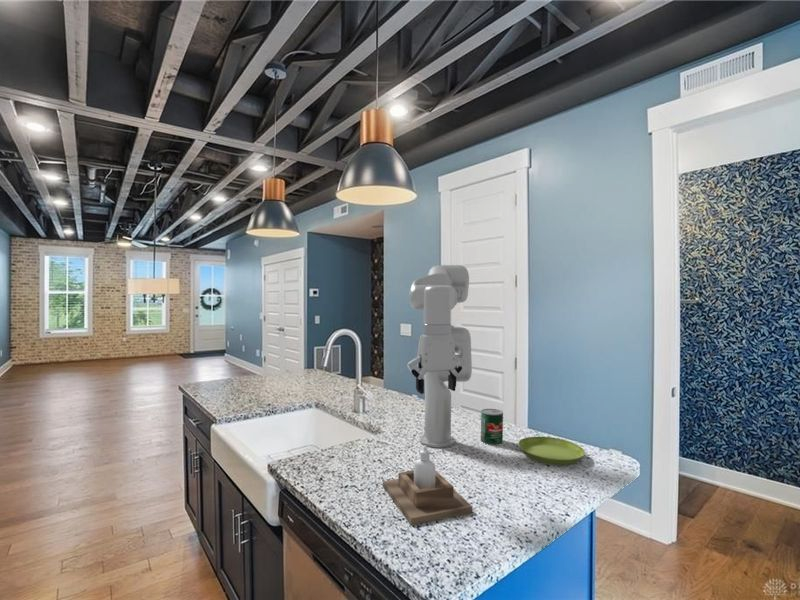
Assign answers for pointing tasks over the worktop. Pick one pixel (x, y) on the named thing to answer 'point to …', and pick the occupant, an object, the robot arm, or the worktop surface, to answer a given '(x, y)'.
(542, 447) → the saucer
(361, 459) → the worktop surface
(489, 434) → the canned tomato
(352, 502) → the worktop surface
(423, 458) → the eye dropper bottle
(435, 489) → the bottle stand
